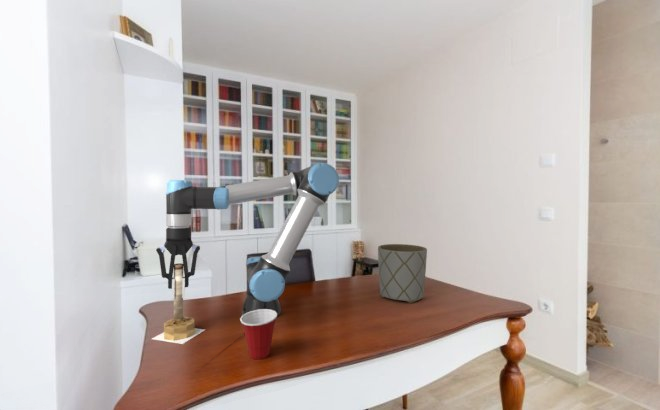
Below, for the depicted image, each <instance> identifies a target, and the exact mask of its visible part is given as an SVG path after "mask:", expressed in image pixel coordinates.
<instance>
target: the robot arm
mask: <svg viewBox="0 0 660 410" xmlns="http://www.w3.org/2000/svg"><path fill="white" fill-rule="evenodd" d="M339 184H340V176H339V174H338V171H337V170H336V168H335V167H333V166H332V165H331V164H329V163H326V162H317V163H315V164H313V165H310V166H308V167H306V168H303V169H301V170H297V171H292V172H290V173H289V174H288V175H282V176H277V177H271V178H263V179H259V180H252V181H246V182H240V183H234V184H229V185H223V186H222V185H221V186H196V185H195V186H193V183H192V181H191V180H187V179H184V180H183V179H169V180H168V181H167V183H166V193H165V195H166V197H165V198H166V201H165V202H166V203H165V204H166V212H165V213H166V214H165V216H166V218H165V223H166V224H165V225H166V229H165V242H164V244H163V245H161V246H158V247H157V248H156V253H157V254H158V258H159V259H158V260H159V263H160V264H159V267H160V273H161V278H163V279H167V287H168V290H169V289H170V290H171V300H174V299H175V279H174V264H175V260H176V256H179V255H180V256H182V257H181V258H182V264H183V278H182V298H183V299H186V298H185V297H186V295H185V294H186V293H185V292H186V288H188V287H189V285H190V284H189V281H190V277H192V276H193V277H194V276H195V272H196V265H197V258H198V253H199V252H200V251H201V250H200V249H201V247H200V245H197V244H195V243H193V240H192V228H191V225H192V210H193V209H194V210H199V209H200V210H227V209H229V206H230V205H236V204H237V205H238V204H241V203H246V202H253V201H259V200H265V199H270V198H276V197H280V196H286V195H293V196H297V198H296V200H295V202H294V204H293V206H292V207H291V209H290V211H289V213H288V215H287V217H286V219H285V221H284V222H283V225H282V226H281V228H280V230H279V232H278V234H277V236H276V237H275V239H274V241H273V243H272V245H271V246H270V249H269V251H268V252H267V253H265V254H263V255H261V256H251V257H248V258H247V260H246V264H245V266H246V296H245V299H244V302H243V305H242V309H241V316H243V315H244V314H245V313H248V312H250V311H254V310H258V309H271V310H274V311H276V313H277V317H279V316H280V315H281V304H280V301H279V299H278V298H280V297H281V295H282V294H283V293H284V290H285V288H286V287H285V286H286V279H287V277H288V275H289V273H290V272H291V268H290V263H291V260H292V258H293V257H294V255H295V254H296V251H297V249H298V247H299V245H300V243H301V241H302V240H303V238H304V236H305V233H306V232H307V230H308V228H309V226H310V224H311V222H312V220H313V219H314V216H315V215H316V213H317V211H318V209H319V207H321V206H324V205H325V204H326V202H327V201H328V199H329V197H330V195H332V194H333V193H334V192H335V191H336V190H337V189H338V187H339ZM165 249H166V250H167V251H168V252H169V254H170V262H169V267H168V273H167V267H166V261H165V260H166V259H165V252H166V250H165ZM191 249H192V251H193V253H192V260H191V267H190V271H189V266H188V259H187V254H188V252H189V251H190V250H191Z"/></svg>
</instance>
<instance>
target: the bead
mask: <svg viewBox="0 0 660 410" xmlns="http://www.w3.org/2000/svg"><path fill="white" fill-rule="evenodd" d="M195 324H196V323H195V319H194V317H190V316H183V318H182V319H179V320H175V319H174V317H173V318H171V319H168V320H167V321H165V322H163V332H164V339H166V340H172V341H175V340H180V339H186V338H188V337H190V336H191V335H193V334H195V328H196V326H195Z"/></svg>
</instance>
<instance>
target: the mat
mask: <svg viewBox="0 0 660 410" xmlns="http://www.w3.org/2000/svg"><path fill="white" fill-rule="evenodd" d="M203 332H205V329H202V328H196V327H195V334H193V335H191V336H190V337H188V338H186V339H180V340H175V341H172V340H166V339H164V331H163V332H162V333H160V334H157V335H155V336H154V337H152V338H151V340H154V341H163V342H168V343H174V344H181V345H184V344H185V343H187V342H188V341H190V340H192V339H193V338H194V337H196V336H198V335H199V334H201V333H203Z"/></svg>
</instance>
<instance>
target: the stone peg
mask: <svg viewBox="0 0 660 410" xmlns="http://www.w3.org/2000/svg"><path fill="white" fill-rule="evenodd" d="M173 277H174V279H175V299H173V318H174V319H175V320H179V319H182V318H183V317H184V298H182V278H183V277H184V267H183V262H182V263H181V262H180V263H174V269H173Z"/></svg>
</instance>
